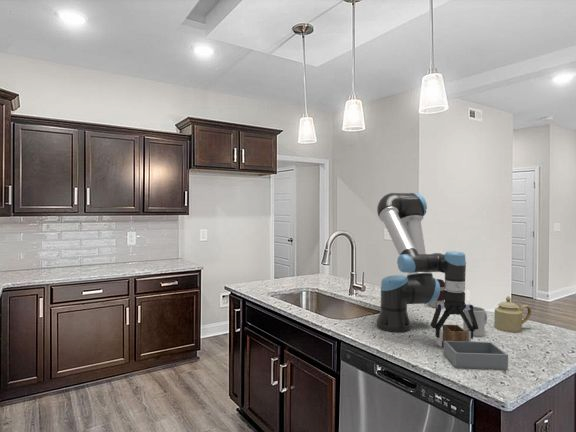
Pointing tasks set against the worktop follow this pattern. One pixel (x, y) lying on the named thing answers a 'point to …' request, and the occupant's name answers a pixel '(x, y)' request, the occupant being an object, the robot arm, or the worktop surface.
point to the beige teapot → (510, 316)
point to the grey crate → (475, 355)
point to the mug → (480, 318)
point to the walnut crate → (453, 333)
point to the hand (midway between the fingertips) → (453, 346)
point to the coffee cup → (441, 295)
